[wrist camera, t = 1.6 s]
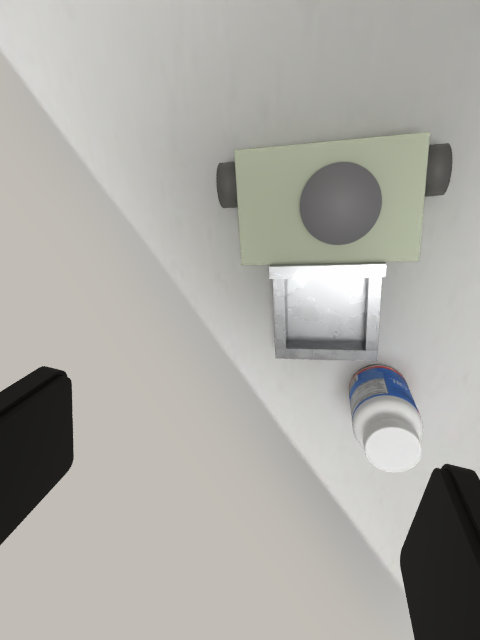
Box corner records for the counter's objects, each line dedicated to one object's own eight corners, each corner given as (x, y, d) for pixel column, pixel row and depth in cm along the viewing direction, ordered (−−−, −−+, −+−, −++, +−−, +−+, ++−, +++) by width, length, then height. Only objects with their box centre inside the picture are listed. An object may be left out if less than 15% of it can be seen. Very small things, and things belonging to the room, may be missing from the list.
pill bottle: (417, 399, 36) (447, 468, 27) (364, 420, 38) (376, 491, 29) (390, 353, 35) (412, 409, 26) (338, 376, 37) (342, 436, 28)
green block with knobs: (441, 136, 29) (458, 128, 25) (429, 253, 32) (443, 261, 28) (225, 155, 33) (212, 151, 29) (232, 258, 36) (221, 267, 32)
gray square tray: (378, 254, 33) (386, 264, 29) (373, 350, 36) (380, 371, 31) (275, 257, 35) (268, 266, 31) (278, 347, 38) (272, 367, 33)
